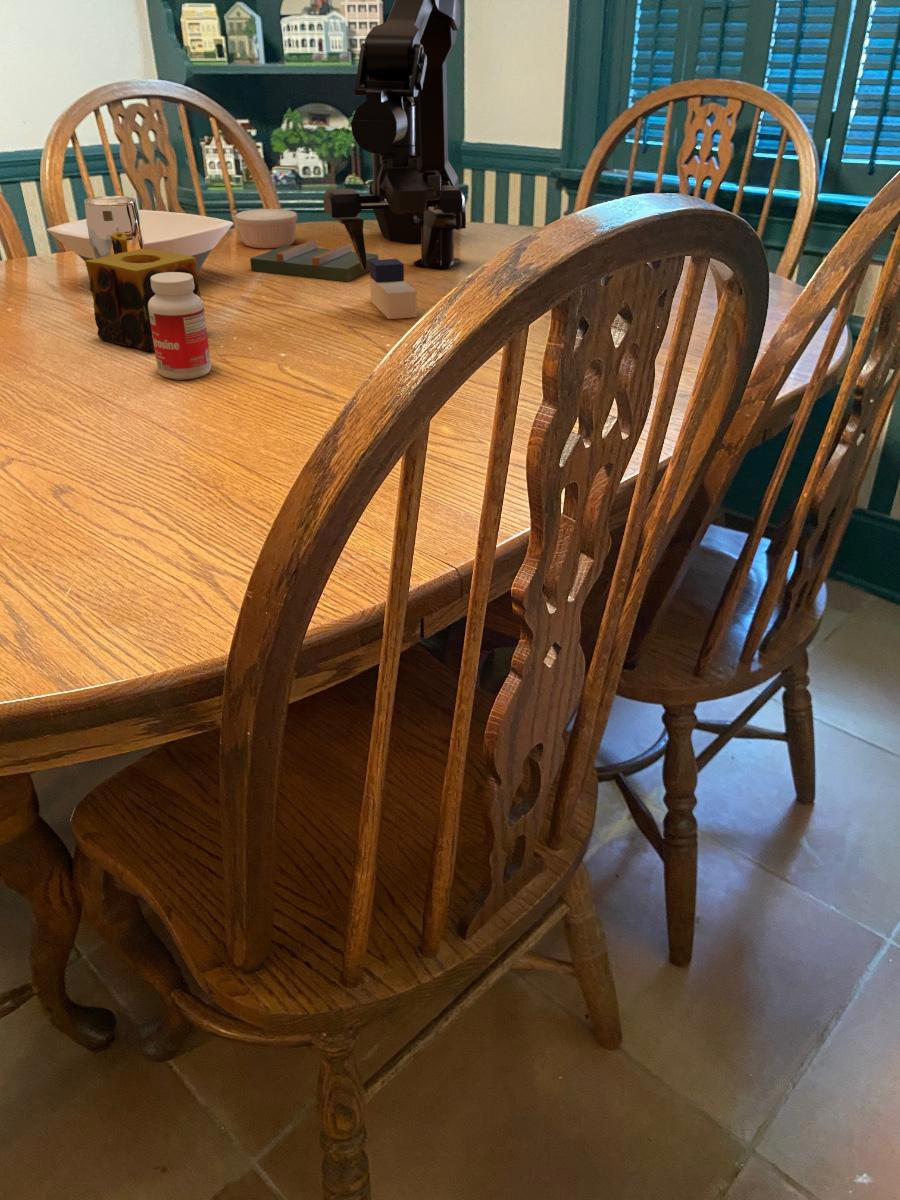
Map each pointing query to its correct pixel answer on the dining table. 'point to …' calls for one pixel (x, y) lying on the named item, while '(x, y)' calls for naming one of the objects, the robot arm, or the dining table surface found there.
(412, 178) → the robot arm
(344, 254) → the green board with rails
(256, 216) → the ramekin
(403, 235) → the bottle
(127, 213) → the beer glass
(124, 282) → the candle
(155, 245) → the bowl
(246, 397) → the dining table surface
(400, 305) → the cream and navy block
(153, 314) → the pill bottle
